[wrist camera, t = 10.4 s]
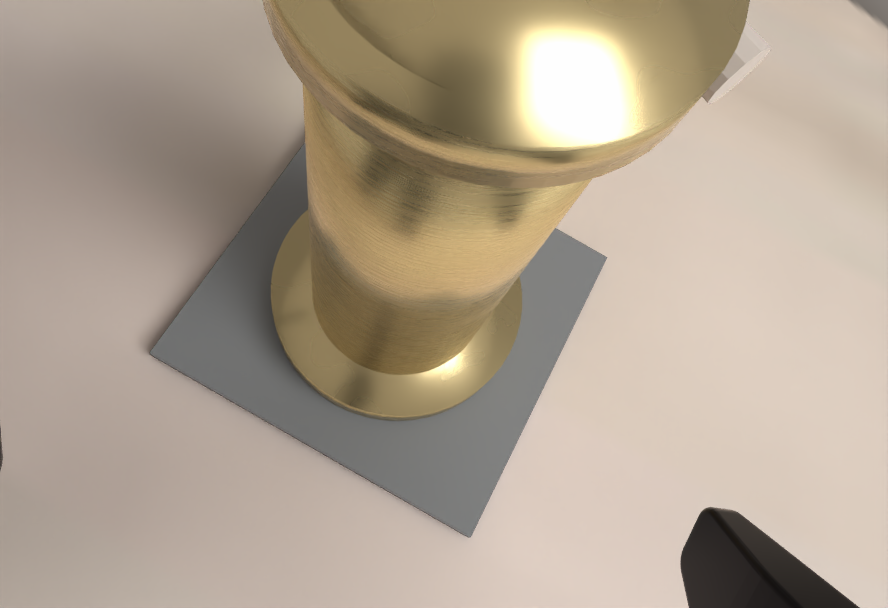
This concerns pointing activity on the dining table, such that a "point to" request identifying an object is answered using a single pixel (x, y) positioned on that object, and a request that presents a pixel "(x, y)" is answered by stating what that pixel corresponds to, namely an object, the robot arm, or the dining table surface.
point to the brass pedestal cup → (459, 170)
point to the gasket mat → (353, 436)
